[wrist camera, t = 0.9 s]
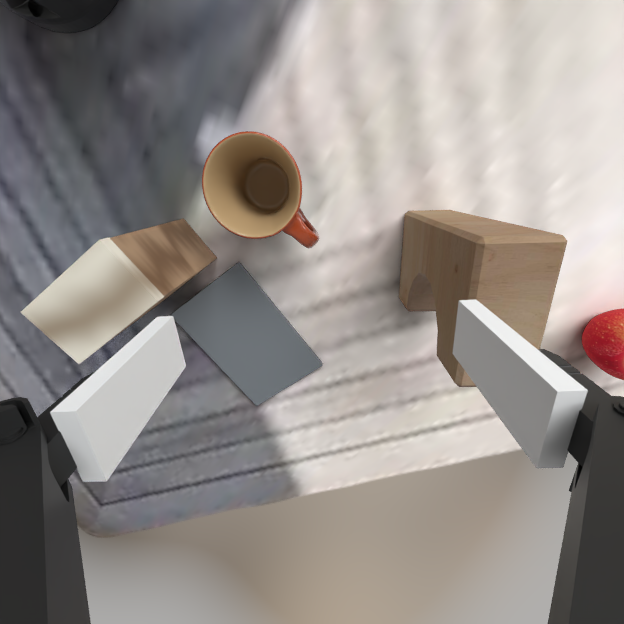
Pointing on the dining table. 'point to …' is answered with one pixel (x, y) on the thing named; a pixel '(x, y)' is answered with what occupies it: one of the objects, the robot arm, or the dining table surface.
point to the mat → (247, 335)
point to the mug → (256, 188)
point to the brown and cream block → (117, 285)
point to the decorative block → (478, 274)
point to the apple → (606, 342)
